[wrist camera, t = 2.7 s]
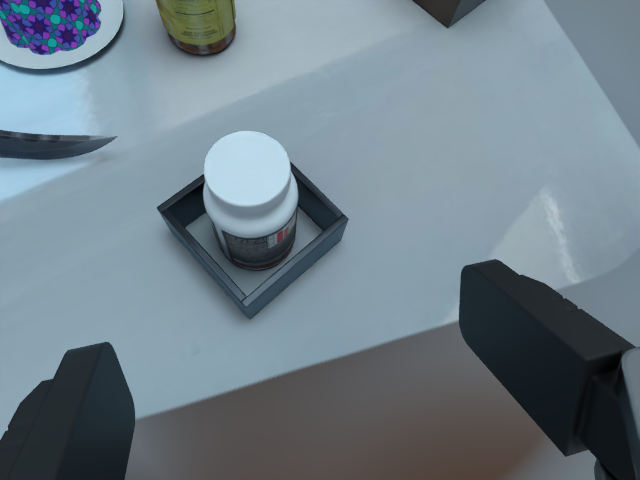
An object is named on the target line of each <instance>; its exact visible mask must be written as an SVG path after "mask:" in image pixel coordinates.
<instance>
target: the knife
mask: <svg viewBox="0 0 640 480" xmlns="http://www.w3.org/2000/svg"><path fill="white" fill-rule="evenodd" d="M116 137H118V136H88V135H83V136H78V135H42V134H28V133H19V132H11V131H4V130H0V158H17V159H36V160H50V159H62V158H68V157H74V156H78V155H82V154H86V153H89V152H92V151H94V150H97V149H99V148H101V147H103V146H105V145H106V144H108V143H109V142H111V141H112V140H114V139H115V138H116Z"/></svg>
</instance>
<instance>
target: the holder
mask: <svg viewBox="0 0 640 480" xmlns="http://www.w3.org/2000/svg"><path fill="white" fill-rule="evenodd" d="M290 166H291V172H292V174H293V176H294V178H295V180H296V183H297V188H298V205H299V206H300V207H301V208H302V209H303V210H304V211H305V212H306V213H307V214H308V215H309V216H310V218H311V219H312V220H313V221H314V222H315V223H316V224H317V225H318V226H319V227H320V228H321V229H322V230H323V232H322V233H321V234H320V235H319V236H318V237H316V238H315V239H314V240H313V241H312V242H311V243H309V244H308V245H307V246H306V247H305V248H304V249H302V250H301V251H300V252H299V253H298V254H297V255H295V256H294V257H293V258H292V259H291V260H290V261H288V262H287V263H286V264H285V265H284V266H282V267H281V268H280V269H279V270H278V271H277V272H275V273H274V274H273V275H272V276H271V277H270V278H268V279H267V280H266V281H265V282H264V283H263V284H261V285H260V286H259V287H258V288H257V289H256V290H254V291H253V292H252V293H251V294H250V295H249V296H247V297H246V295H245V294H244V293H243V292H242V291H241V290H240V289H239V287H238V286H237V285H236V284H235V283H234V282H233V281H232V280H231V279H230V277H229V276H228V275H227V274H226V273H225V272H224V271H223V270H222V269H221V267H220V266H219V265H218V264H217V263H216V262H215V261H214V260H213V259H212V257H211V256H210V255H209V254H208V253H207V252H206V251H205V250H204V249H203V247H202V246H201V245H200V244H199V243H198V242H197V241H196V240H195V239H194V237H193V236H192V235H191V234H190V233H189V232H188V231H187V230H186V229H185V227H186V226H187V225H188V224H190V223H191V222H192V221H194V220H195V219H196V218H198V217H199V216H200V215H202V214H203V213H204V212H206V209H205V205H204V199H203V190H204V184H205V177H204V174H203V175H202V176H200V177H199V178H197V179H196V180H194V181H193V182H192V183H190V184H189V185H187V186H186V187H185V188H183V189H182V190H180V191H179V192H178V193H176V194H175V195H173V196H172V197H171V198H169V199H168V200H166V201H165V202H164V203H162V204H161V205H159V206H158V207H157V209H158V211H159V213H160V214H161V216H162V217H163V219H164V221H165V222H166V224H167V225H168V227H169V229H170V230H171V232H172V233H173V234H174V235H175V236H176V237H177V238H178V239H179V241H180V242H181V243H182V244H183V245H184V246H185V247H186V248H187V250H188V251H189V252H190V253H191V254H192V255H193V256H194V257H195V259H196V260H197V261H198V262H199V263H200V264H201V265H202V266H203V268H204V269H205V270H206V271H207V272H208V273H209V274H210V275H211V277H212V278H213V279H214V280H215V281H216V282H217V283H218V284H219V286H220V287H221V288H222V289H223V290H224V291H225V292H226V293H227V295H228V296H229V297H230V298H231V299H232V300H233V301H234V303H235V304H236V305H237V306H238V307H239V308H240V309H241V310H242V312H243V313H244V314H246V316H247V317H248V318H249V319H251V318H252V317H254V316H255V315H256V314H257V313H258V312H259V311H260V310H262V309H263V308H264V307H265V306H266V305H267V304H268V303H270V302H271V301H272V300H273V299H274V298H275V297H276V296H278V295H279V294H280V293H281V292H282V291H283V290H284V289H286V288H287V287H288V286H289V285H290V284H291V283H292V282H294V281H295V280H296V279H297V278H298V277H299V276H300V275H301V274H303V273H304V272H305V271H306V270H307V269H308V268H309V267H311V266H312V265H313V264H314V263H315V262H316V261H317V260H319V259H320V258H321V257H322V256H323V255H324V254H325V253H327V252H328V251H329V250H330V249H331V248H332V247H333V246H335V245H336V244H337V243H338V242H339V241H340V240H341V238H342V235H343V233H344V230H345V227H346V225H347V222H348V218H347V217H346V216H345V215H343V213H342V212H341V211H340V210H339V209H338V208H337V207H336V206H335V205H334V204H333V203H332V202H331V201H330V200H329V199H328V198H327V197H326V196H325V195H324V194H323V193H322V192H321V191H320V190H319V189H318V188H317V187H316V186H315V185H314V184H313V183H312V182H311V181H310V180H309V179H308V178H307V177H306V176H305V175H303V174H302V173H301V172H300V171H299V170H298V169H297V168H296V167H295V166H294V165H293V164H292V163H291V162H290Z"/></svg>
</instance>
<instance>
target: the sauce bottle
mask: <svg viewBox="0 0 640 480" xmlns="http://www.w3.org/2000/svg"><path fill="white" fill-rule="evenodd" d="M156 3H157V6H158V9H159V13H160V16H161V19H162V22H163V24H164V26H165V28H166V30H167V31H168V35H169V37H170V39H171V40H172V41H173V42H174V43H175V44H176V45H177V46H178V47H180V48H182V49H183V50H185V51H187V52H189V53H194V54H202V55H204V54H212V53H215V52H219V51H221V50H222V49H223V48H225V47H226V46H227V45H228V44H229V42H230V41H231V40H232V38H233V37H234V35H235V30H236V26H235V17H236V15H235V4H234V0H156Z"/></svg>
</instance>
